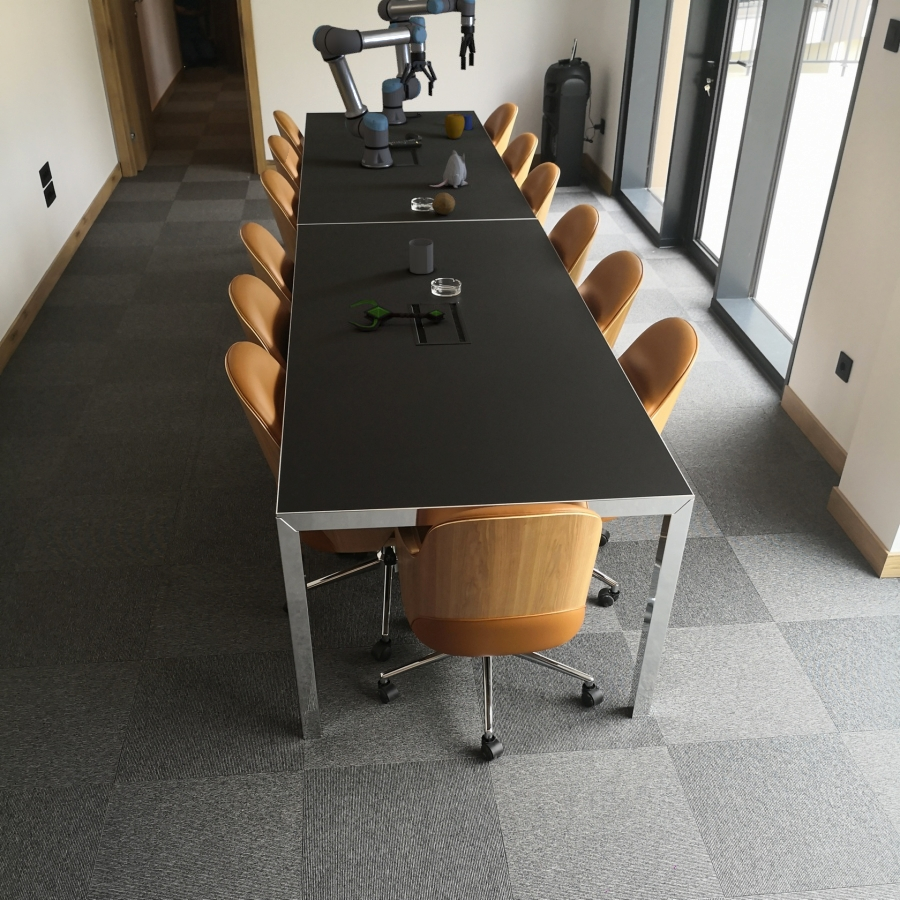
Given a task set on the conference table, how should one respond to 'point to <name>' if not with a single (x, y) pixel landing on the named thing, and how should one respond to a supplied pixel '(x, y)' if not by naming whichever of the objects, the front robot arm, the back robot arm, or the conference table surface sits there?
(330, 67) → the front robot arm
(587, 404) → the conference table surface
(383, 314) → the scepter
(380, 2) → the back robot arm
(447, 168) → the toy
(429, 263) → the cup
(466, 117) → the can
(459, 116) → the yellow bell pepper
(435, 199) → the potato
